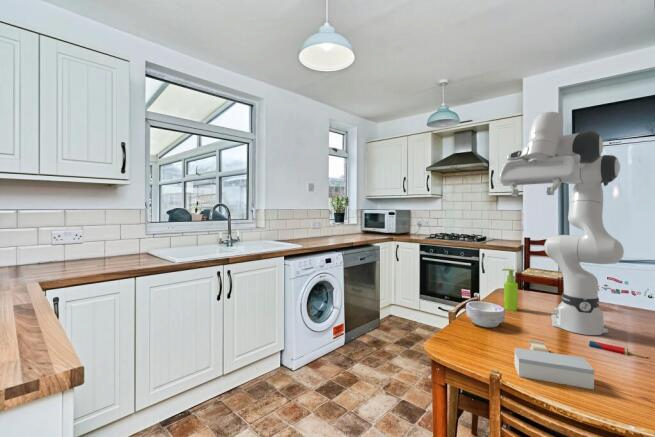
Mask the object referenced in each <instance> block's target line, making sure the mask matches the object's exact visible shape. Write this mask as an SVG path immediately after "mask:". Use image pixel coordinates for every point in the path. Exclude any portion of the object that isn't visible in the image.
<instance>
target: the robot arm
mask: <svg viewBox="0 0 655 437" xmlns="http://www.w3.org/2000/svg"><path fill="white" fill-rule="evenodd" d="M563 128H564V116H563V114H562V113H559V112H557V111H556V112H555V111H549V112H543V113H540V114H538V115H537V116H536V117H535V118H534V120H533V122H532V124H531V127H530V130H529V133H528V139H527V140H528V143H527V144H526V146H525V147H523V148H520V149H519V150H516V151H513V152H510V153H508V154H507V156H506V159H507V161H506V162H505V163H504V164H503V165H502V168H501V170H500V174H499V177H498V179H499V181H500V183H501V184H502V186H504V187H506V186H507V187H509V186H510V188H511V193H510V194H511V196H512V197H519V194H520V191H519V189H518V188H517V187H518V186H525V185H527V186H528V185H544V184H552V185H551V186H549V187H547V188H546V194H547V196H554V195H555V191H556V190H557V189H558V188H560V187H561V185H566V184H567V185H571V184H572V185H573V188H572V191H571V194H570V199H569V208H568V215H567V220H568V222H569V224H570V225H571V226H573V227H575V228H577V229H580V230H581V231H583V235H571V234H560V235H557V234H556V235H551V236H549V237H548V238H547V239H546V240H545V242H544V248H543V250H544V252H545V254H546V255H547V256H548V258H550V259H551V260H553V261H554V262H555V264H557V266H558V268H559V269H560V272H561V273H562V280H563V292H562V294H561V302H560V303H559V304H558V305H557V307H553V312H552V313H553V314H551V316H550V317H551V318H550V319H551V325H552V327H555V328H558V329H562V330H564V331H568V332H570V333H576V334H580V335H585V336H600V335H602V334H608V333H609V330H608V328H605V323H604V322H605V321H604V312H603V311H602V309H600V298H599V291H598V290H599V281H598V278H597V276H595V275H594V274H593V273H592V272H589V271H587V270H586V269H584V268H583V267H582V266H581V263H586V264H594V265H595V264H596V265H609V264H610V265H614V264H617V263H619V262H620V261H621V260H622V258H623V257H624V253H625V250H624V247H623V245H622V243H621V242H620V241H619V240H618V239H616V238H614V236H612V235H611V234H609V233H608V231H607V230H606V228H605V226H604V222H603V221H604V220H603V209H604V208H603V207H604V190H603V185H604V187H606V186H608V185H609V183H612V182H614V181H615V179H617V178H618V176H619V173H620V171H621V163H620V162H619V159H618V157H616V156H615V155H613V154H603V155H602V153H603V151H604V142H603V138H602V137H601V135H600V134H599V133H598V132H596V131H594V130H588V131H582V132H577V133H571V134H564V135H563ZM602 184H603V185H602Z"/></svg>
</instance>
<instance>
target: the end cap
mask: <svg viewBox="0 0 655 437" xmlns="http://www.w3.org/2000/svg"><path fill="white" fill-rule="evenodd" d="M513 364H514V367H515V370H516V372H517V376H518V377H519V378H526V379H532V380H537V381H544V382H550V383H555V384H561V385H565V384H566V385H565V386H572V387H576V388H577V387H579V388H583V389H588V390H589V389H590V390H595V369H594V368H593V367H592V366H591V365H590V363H589V362H588V361H587V360H586V358H584V357H581V356H575V355H566V354H560V353H554V352H549V353H547V352H541V351H534V350H531V349H525V348H519V347H514V363H513Z"/></svg>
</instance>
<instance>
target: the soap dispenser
mask: <svg viewBox="0 0 655 437" xmlns="http://www.w3.org/2000/svg"><path fill="white" fill-rule="evenodd" d="M501 271H509V272H508V275H507V276H506V281H504V282H503V308H504V309H505V311H506V310H507V311H510V310H511V312H512V311H513V312H515V311H518V299H519V298H518V296H519V295H518V291H519V283H518V282H516V277H515V275H514V272H515V269H512V268H502V269H501Z"/></svg>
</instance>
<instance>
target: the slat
mask: <svg viewBox="0 0 655 437" xmlns="http://www.w3.org/2000/svg"><path fill="white" fill-rule="evenodd" d="M528 341H529V343H528V344H529V345H528V346H529V350H534V351H541V352H547V353H550V352H549V349H548V348H547V347H546V345H545V344H544V342H543V341H542V340H534V339H533V340H532V339H529V340H528Z"/></svg>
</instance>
